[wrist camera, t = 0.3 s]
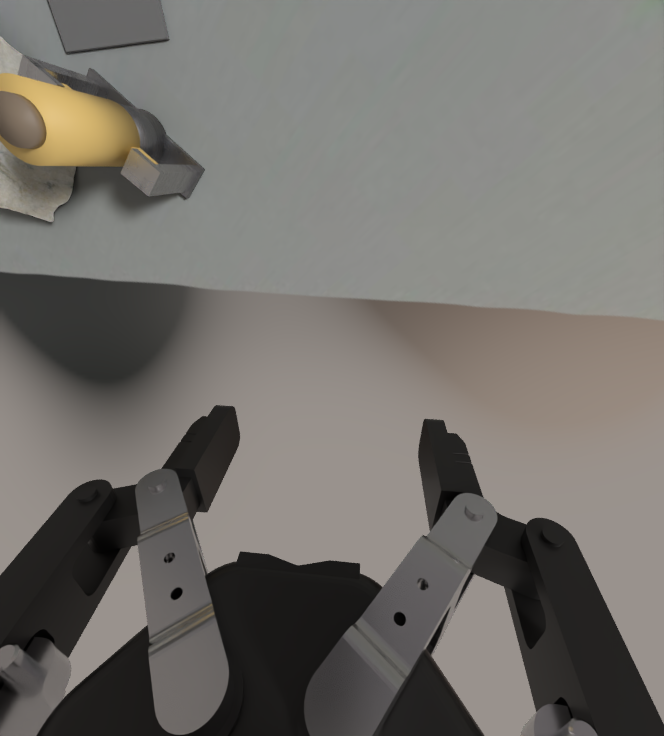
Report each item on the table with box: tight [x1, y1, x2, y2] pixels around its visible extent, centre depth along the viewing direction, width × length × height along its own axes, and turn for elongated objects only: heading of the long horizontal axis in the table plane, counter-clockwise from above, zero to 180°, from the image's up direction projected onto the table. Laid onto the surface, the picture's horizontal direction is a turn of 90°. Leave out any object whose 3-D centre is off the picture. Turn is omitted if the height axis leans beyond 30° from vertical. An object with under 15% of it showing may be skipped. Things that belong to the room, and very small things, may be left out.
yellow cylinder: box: [0, 73, 158, 167], centre depth 26 cm, size 9×5×10 cm, turn 49°
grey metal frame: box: [18, 55, 205, 199], centre depth 31 cm, size 12×5×8 cm, turn 49°
